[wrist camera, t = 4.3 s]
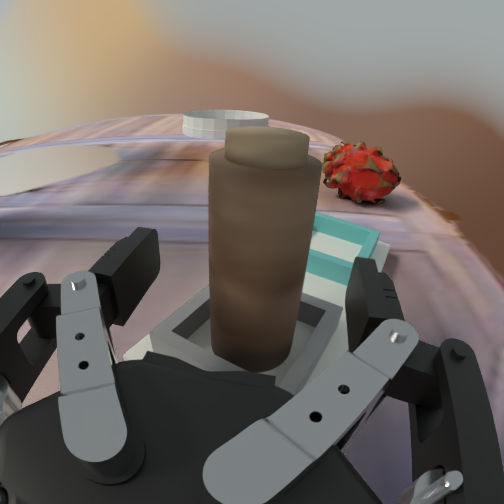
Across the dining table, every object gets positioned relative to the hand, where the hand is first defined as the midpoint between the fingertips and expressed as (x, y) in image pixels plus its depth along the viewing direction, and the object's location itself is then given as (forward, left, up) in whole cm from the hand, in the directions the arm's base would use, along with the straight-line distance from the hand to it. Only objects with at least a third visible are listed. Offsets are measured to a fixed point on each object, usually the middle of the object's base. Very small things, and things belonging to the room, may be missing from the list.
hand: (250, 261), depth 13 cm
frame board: (-5, +6, -7) cm, 11 cm away
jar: (-1, +1, -6) cm, 6 cm away
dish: (-69, +26, -8) cm, 74 cm away
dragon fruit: (-20, +26, -8) cm, 34 cm away
